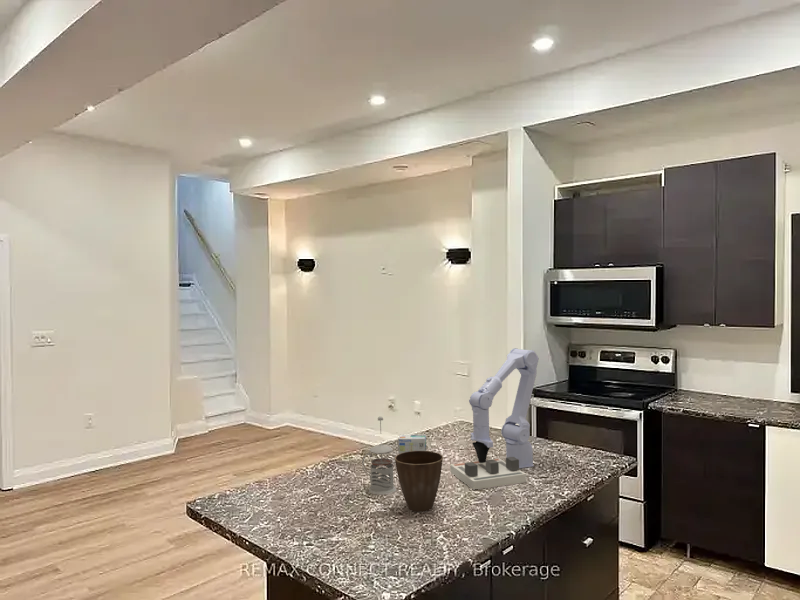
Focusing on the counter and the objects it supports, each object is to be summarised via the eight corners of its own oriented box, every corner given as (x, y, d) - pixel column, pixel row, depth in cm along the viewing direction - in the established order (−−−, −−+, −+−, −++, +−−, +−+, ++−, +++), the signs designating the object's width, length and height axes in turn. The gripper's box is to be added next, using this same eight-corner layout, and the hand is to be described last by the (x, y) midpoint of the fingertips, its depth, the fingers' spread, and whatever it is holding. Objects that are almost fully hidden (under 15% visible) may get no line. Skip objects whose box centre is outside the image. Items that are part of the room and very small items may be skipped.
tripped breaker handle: (493, 469, 210) (493, 459, 210) (498, 472, 207) (498, 462, 206) (485, 470, 209) (485, 460, 209) (490, 473, 206) (490, 463, 206)
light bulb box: (427, 461, 234) (426, 433, 233) (426, 466, 227) (425, 438, 227) (400, 460, 235) (399, 433, 234) (398, 466, 228) (397, 438, 228)
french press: (393, 495, 197) (391, 420, 196) (359, 493, 199) (357, 419, 198) (399, 485, 206) (397, 413, 206) (367, 483, 209) (365, 413, 208)
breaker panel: (499, 466, 225) (498, 447, 224) (526, 482, 206) (525, 462, 205) (450, 472, 218) (449, 454, 218) (473, 490, 199) (473, 469, 199)
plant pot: (389, 503, 189) (388, 453, 189) (432, 496, 195) (431, 448, 194) (406, 520, 175) (405, 466, 175) (452, 512, 181) (450, 460, 180)
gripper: (462, 422, 221) (463, 458, 221) (479, 430, 207) (480, 469, 207) (480, 420, 223) (480, 455, 223) (498, 428, 209) (499, 467, 210)
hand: (482, 462), depth 216 cm, fingers closed
